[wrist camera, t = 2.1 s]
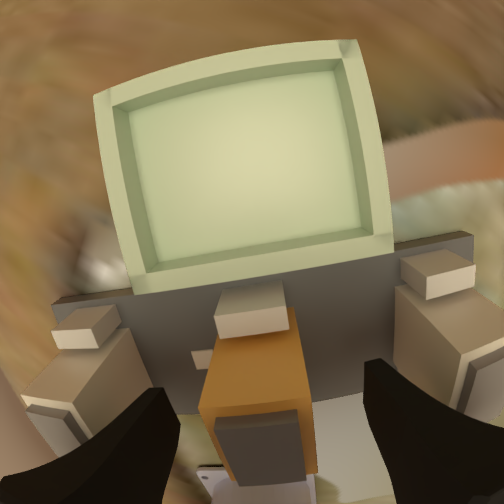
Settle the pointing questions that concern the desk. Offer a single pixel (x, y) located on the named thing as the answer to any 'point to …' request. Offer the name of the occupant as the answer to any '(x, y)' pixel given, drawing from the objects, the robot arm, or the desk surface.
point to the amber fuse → (261, 407)
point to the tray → (245, 166)
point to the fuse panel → (275, 319)
